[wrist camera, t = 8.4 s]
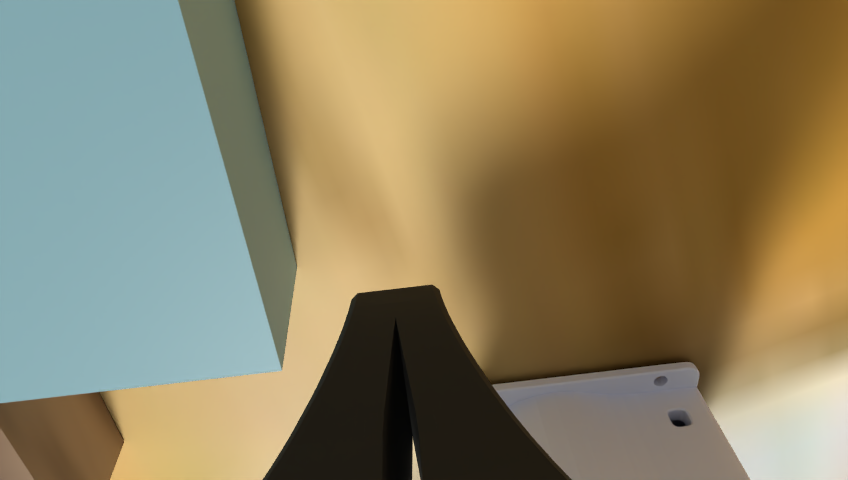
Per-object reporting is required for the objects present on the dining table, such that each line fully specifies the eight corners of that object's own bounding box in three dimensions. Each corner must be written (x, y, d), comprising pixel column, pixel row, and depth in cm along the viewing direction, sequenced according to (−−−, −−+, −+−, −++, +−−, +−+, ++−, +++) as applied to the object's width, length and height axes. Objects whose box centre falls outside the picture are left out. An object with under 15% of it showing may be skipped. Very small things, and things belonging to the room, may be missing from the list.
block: (220, -69, 16) (170, -26, 12) (297, 262, 22) (281, 370, 18) (-109, -35, 16) (-274, 20, 12) (53, 290, 22) (-21, 405, 17)
